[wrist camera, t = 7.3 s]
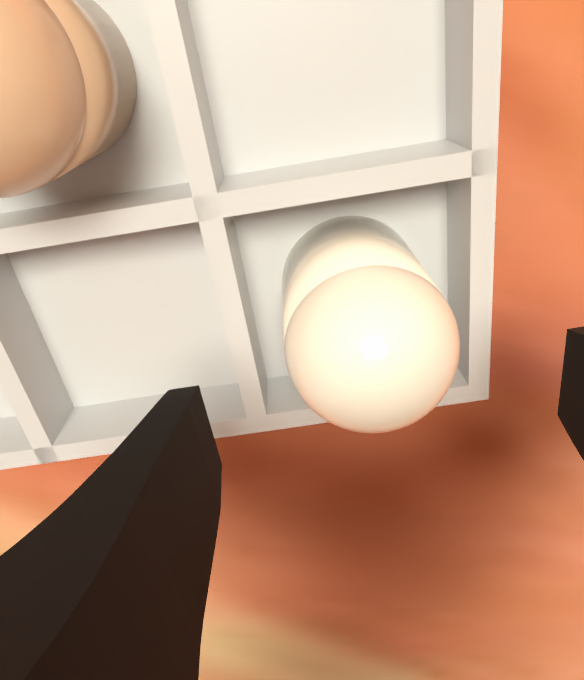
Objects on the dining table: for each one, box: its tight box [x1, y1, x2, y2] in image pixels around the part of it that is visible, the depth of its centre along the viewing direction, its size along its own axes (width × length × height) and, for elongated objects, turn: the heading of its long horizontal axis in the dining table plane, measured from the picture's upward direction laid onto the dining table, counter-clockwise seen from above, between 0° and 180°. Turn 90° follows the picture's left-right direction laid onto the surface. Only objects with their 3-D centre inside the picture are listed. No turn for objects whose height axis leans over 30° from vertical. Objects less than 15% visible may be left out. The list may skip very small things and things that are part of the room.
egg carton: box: [0, 0, 503, 470], centre depth 14 cm, size 14×20×2 cm
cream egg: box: [282, 215, 460, 433], centre depth 13 cm, size 4×4×6 cm
